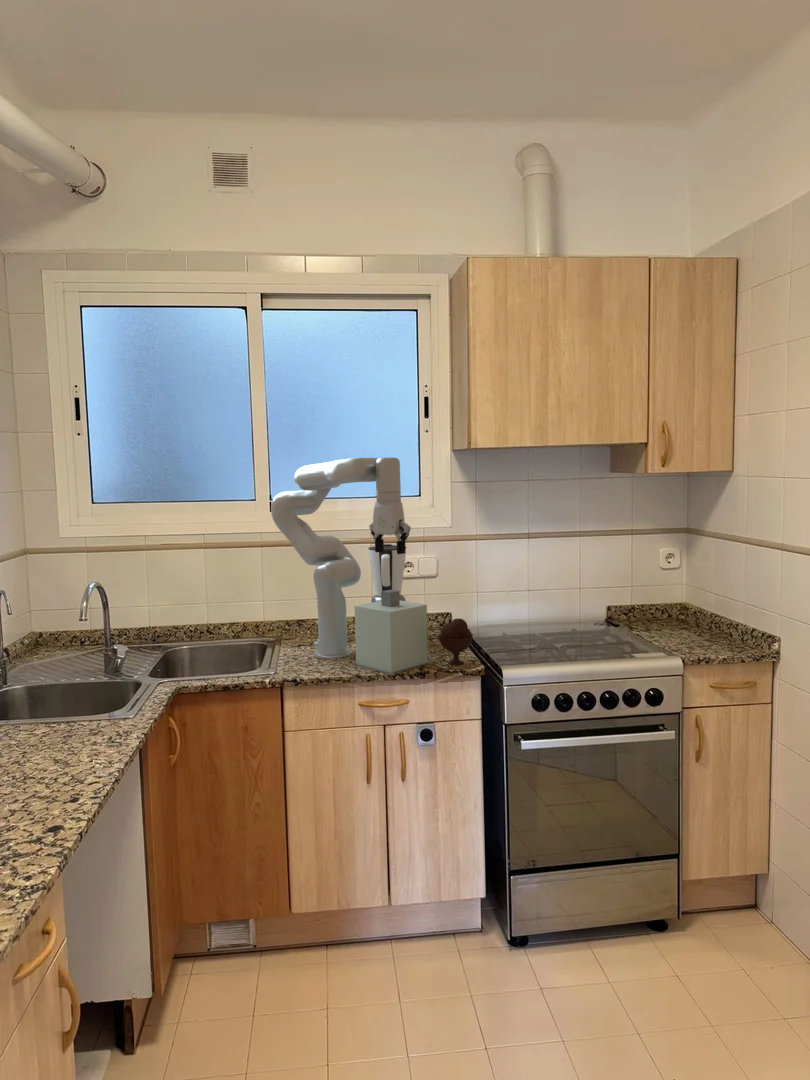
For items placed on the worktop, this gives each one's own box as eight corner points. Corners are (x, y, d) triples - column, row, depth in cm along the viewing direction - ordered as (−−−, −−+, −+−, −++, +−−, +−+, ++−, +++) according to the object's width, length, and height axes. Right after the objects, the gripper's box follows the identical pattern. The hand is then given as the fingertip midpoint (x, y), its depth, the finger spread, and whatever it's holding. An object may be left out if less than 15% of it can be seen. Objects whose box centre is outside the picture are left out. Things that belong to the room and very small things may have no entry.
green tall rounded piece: (372, 636, 272) (370, 542, 269) (408, 636, 272) (406, 542, 269) (368, 649, 253) (365, 548, 250) (407, 648, 253) (405, 547, 250)
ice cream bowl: (473, 660, 235) (472, 614, 234) (473, 670, 224) (472, 621, 223) (440, 660, 236) (439, 614, 235) (438, 669, 225) (437, 621, 224)
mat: (351, 665, 232) (351, 664, 232) (392, 654, 245) (392, 653, 245) (391, 676, 219) (391, 674, 219) (432, 664, 232) (432, 662, 232)
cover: (356, 663, 232) (354, 591, 230) (392, 654, 243) (390, 585, 241) (391, 673, 221) (389, 597, 219) (427, 662, 232) (426, 590, 230)
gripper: (360, 498, 230) (362, 552, 232) (399, 498, 218) (401, 555, 220) (378, 497, 236) (379, 550, 237) (417, 497, 223) (418, 553, 225)
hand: (390, 552), depth 228 cm, fingers open, 9 cm apart
